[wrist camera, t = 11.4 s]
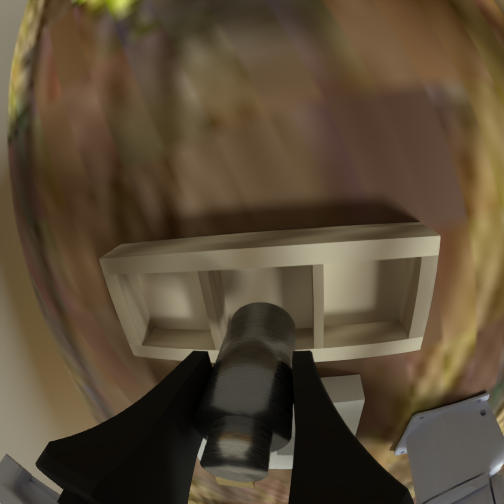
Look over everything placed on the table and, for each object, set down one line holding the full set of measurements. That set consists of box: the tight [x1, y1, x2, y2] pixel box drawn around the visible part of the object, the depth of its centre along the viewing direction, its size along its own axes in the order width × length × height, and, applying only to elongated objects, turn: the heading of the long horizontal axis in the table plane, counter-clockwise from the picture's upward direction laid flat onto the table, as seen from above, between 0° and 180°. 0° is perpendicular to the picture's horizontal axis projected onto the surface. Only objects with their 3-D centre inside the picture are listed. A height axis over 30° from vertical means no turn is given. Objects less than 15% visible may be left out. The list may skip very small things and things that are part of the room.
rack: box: [99, 222, 440, 363], centre depth 15 cm, size 18×7×2 cm, turn 97°
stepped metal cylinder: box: [194, 302, 296, 482], centre depth 10 cm, size 3×3×8 cm
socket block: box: [197, 374, 365, 469], centre depth 20 cm, size 14×11×2 cm
